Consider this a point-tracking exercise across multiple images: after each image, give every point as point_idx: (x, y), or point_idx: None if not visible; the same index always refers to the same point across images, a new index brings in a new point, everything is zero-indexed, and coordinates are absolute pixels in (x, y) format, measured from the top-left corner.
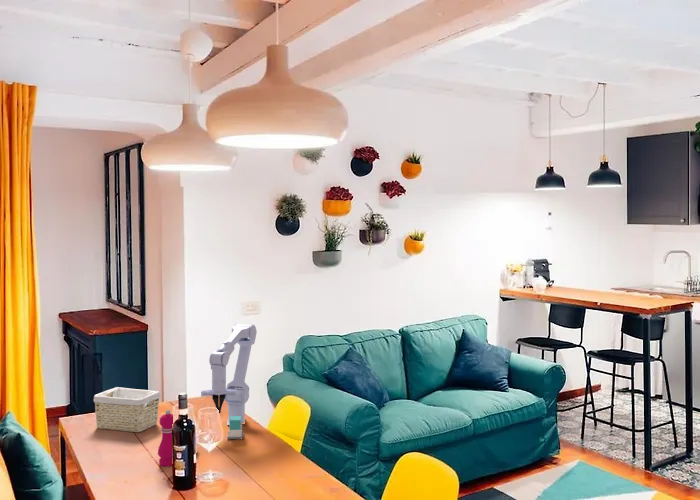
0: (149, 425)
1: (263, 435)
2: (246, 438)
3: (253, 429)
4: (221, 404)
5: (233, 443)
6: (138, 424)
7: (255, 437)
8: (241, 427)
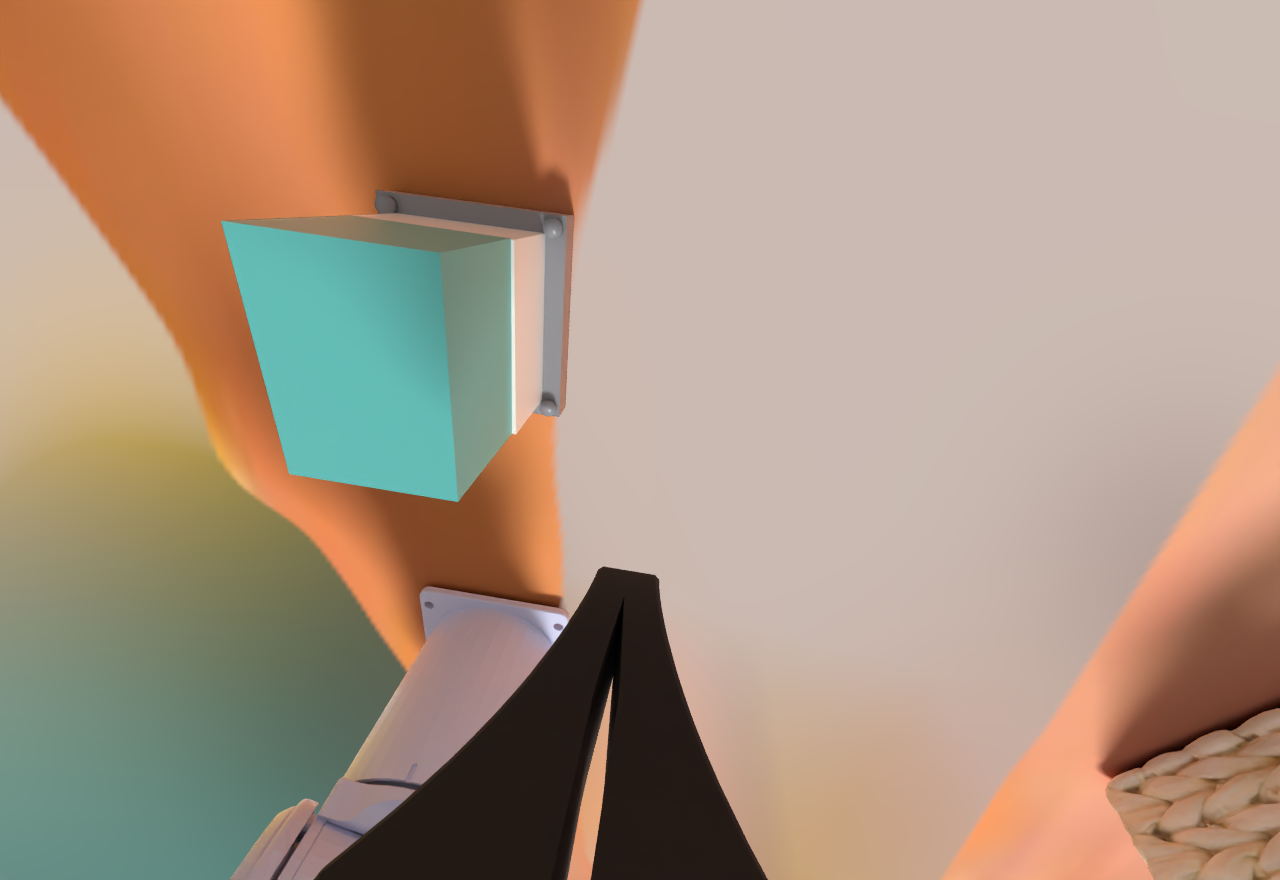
0: (1220, 754)
1: (206, 288)
2: None
3: None
4: (526, 705)
5: (498, 53)
6: None
7: None
8: None
